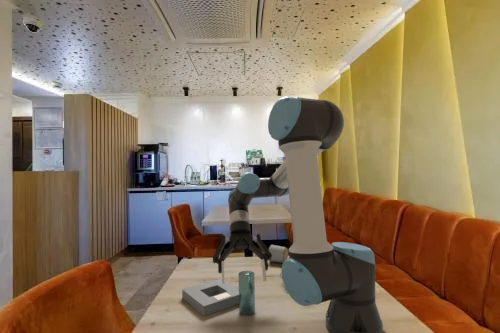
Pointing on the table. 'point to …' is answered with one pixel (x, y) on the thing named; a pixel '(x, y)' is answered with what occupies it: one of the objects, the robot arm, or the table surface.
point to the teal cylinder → (246, 293)
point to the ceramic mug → (278, 253)
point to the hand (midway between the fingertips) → (244, 280)
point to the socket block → (208, 305)
